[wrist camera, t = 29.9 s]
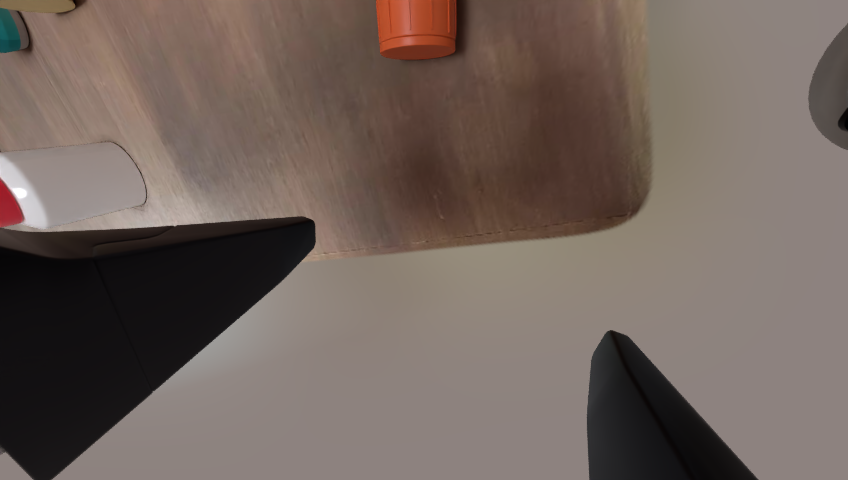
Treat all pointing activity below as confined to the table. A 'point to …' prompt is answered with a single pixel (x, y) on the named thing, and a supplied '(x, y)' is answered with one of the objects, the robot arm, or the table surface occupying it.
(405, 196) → the table surface
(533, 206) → the table surface
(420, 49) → the cap
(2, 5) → the bottle
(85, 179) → the pill bottle
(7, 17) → the beverage can
